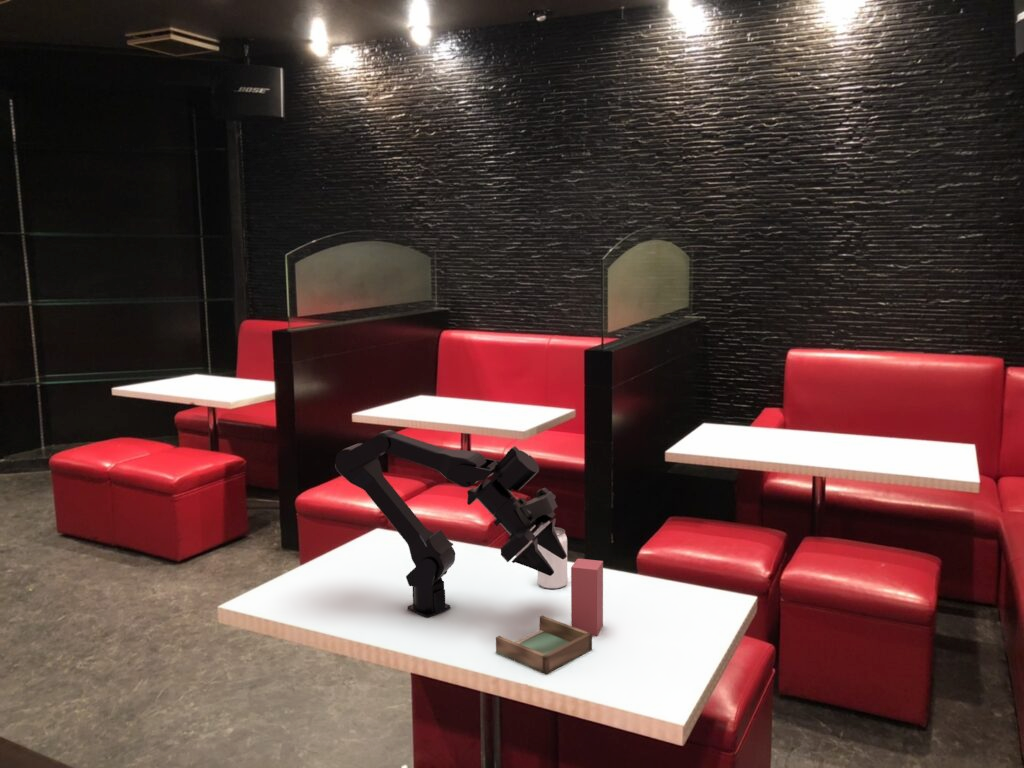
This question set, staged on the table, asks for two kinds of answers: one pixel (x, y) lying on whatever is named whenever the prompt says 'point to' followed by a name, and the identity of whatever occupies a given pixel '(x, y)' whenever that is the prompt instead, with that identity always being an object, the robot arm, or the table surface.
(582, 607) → the post
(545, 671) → the box
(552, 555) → the can
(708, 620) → the table surface
